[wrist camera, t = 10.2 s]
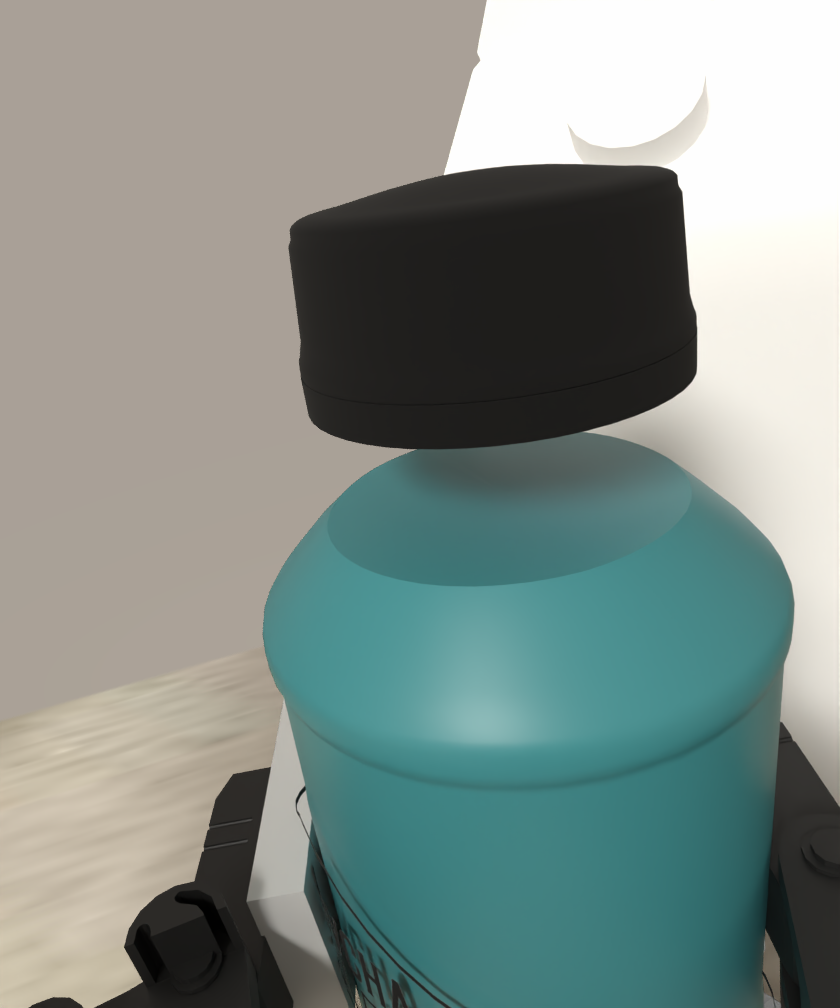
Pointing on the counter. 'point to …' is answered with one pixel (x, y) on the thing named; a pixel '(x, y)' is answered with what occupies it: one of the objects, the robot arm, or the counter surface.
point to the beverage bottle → (526, 608)
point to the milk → (715, 252)
